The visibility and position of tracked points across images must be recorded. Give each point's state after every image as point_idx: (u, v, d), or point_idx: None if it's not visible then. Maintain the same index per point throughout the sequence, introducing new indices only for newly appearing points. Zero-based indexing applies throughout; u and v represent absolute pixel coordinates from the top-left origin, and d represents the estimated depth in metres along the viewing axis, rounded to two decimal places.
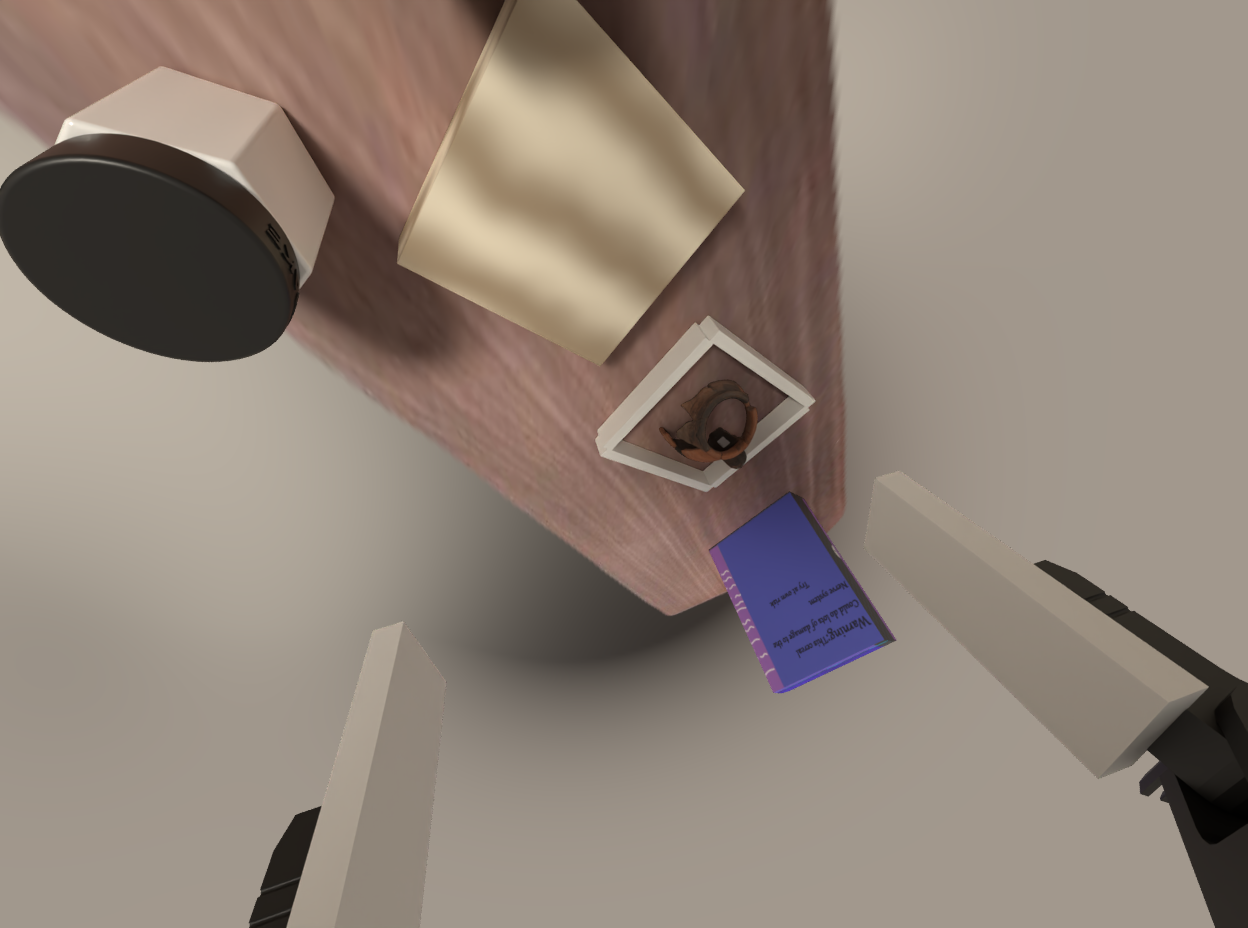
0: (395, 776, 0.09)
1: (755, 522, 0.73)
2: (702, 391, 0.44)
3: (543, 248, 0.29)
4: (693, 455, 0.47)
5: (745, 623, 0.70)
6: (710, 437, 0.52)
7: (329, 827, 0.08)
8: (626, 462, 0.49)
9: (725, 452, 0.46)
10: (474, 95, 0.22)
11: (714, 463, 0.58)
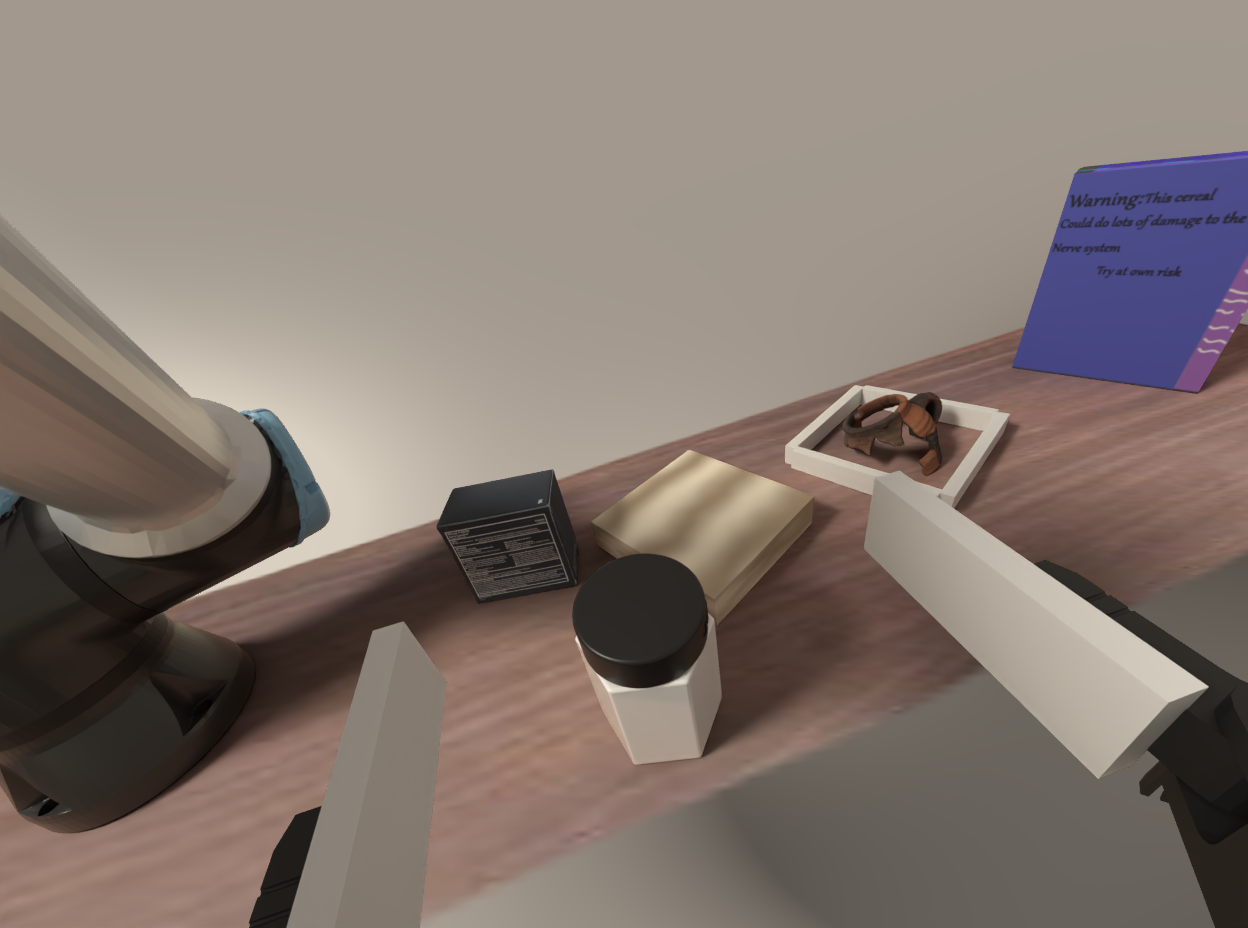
0: (395, 776, 0.09)
1: (1084, 370, 0.59)
2: (851, 446, 0.52)
3: (711, 524, 0.43)
4: (917, 423, 0.48)
5: None
6: None
7: (329, 827, 0.08)
8: (963, 477, 0.44)
9: (900, 402, 0.50)
10: (629, 546, 0.43)
11: (970, 426, 0.54)
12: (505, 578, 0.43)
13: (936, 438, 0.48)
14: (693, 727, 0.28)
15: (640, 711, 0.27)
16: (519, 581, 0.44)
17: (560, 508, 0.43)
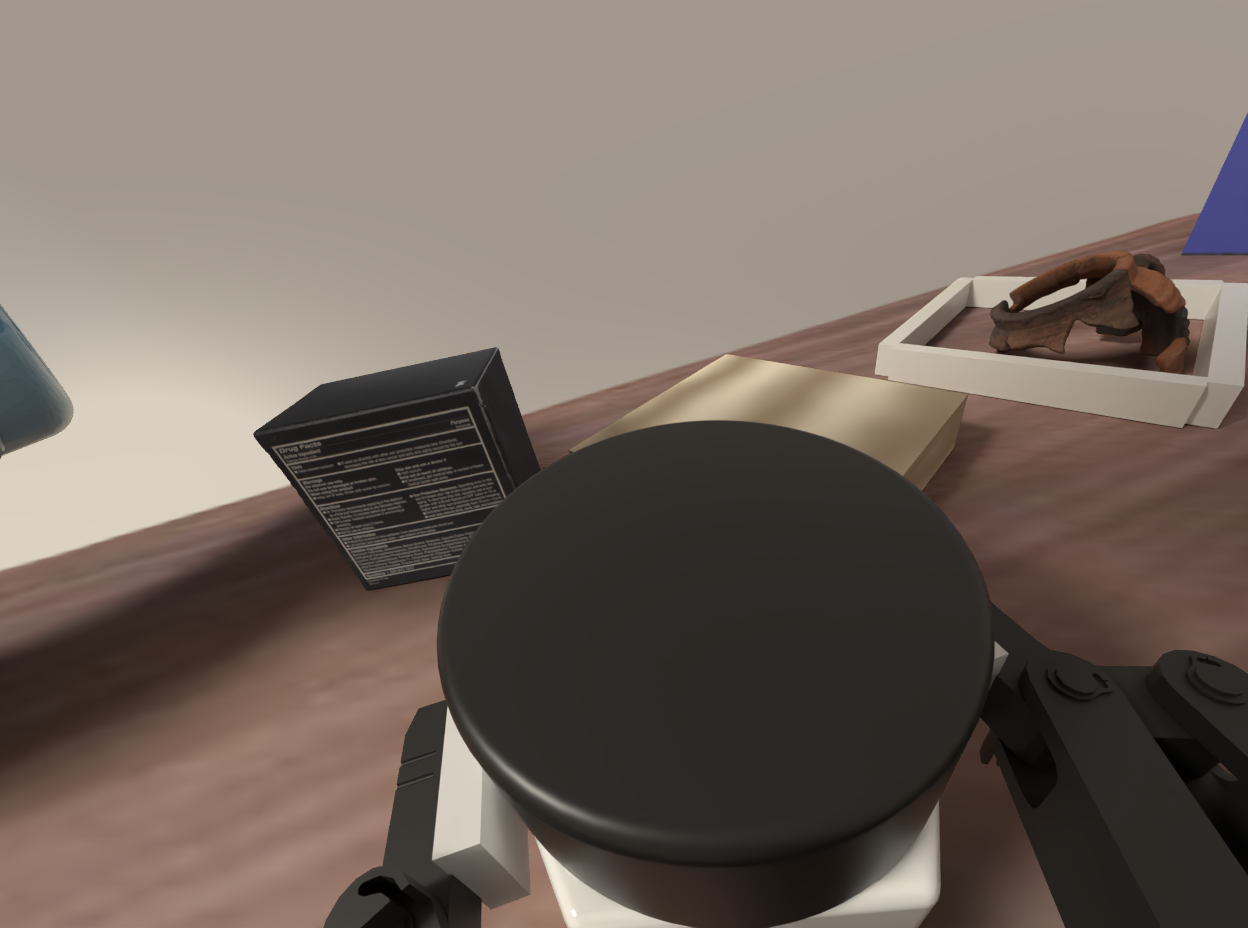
0: None
1: None
2: (1018, 344, 0.30)
3: None
4: (1160, 288, 0.26)
5: None
6: (1126, 329, 0.32)
7: None
8: (1236, 359, 0.25)
9: (1112, 261, 0.28)
10: None
11: None
12: (409, 544, 0.24)
13: None
14: None
15: None
16: (435, 550, 0.24)
17: (509, 415, 0.24)
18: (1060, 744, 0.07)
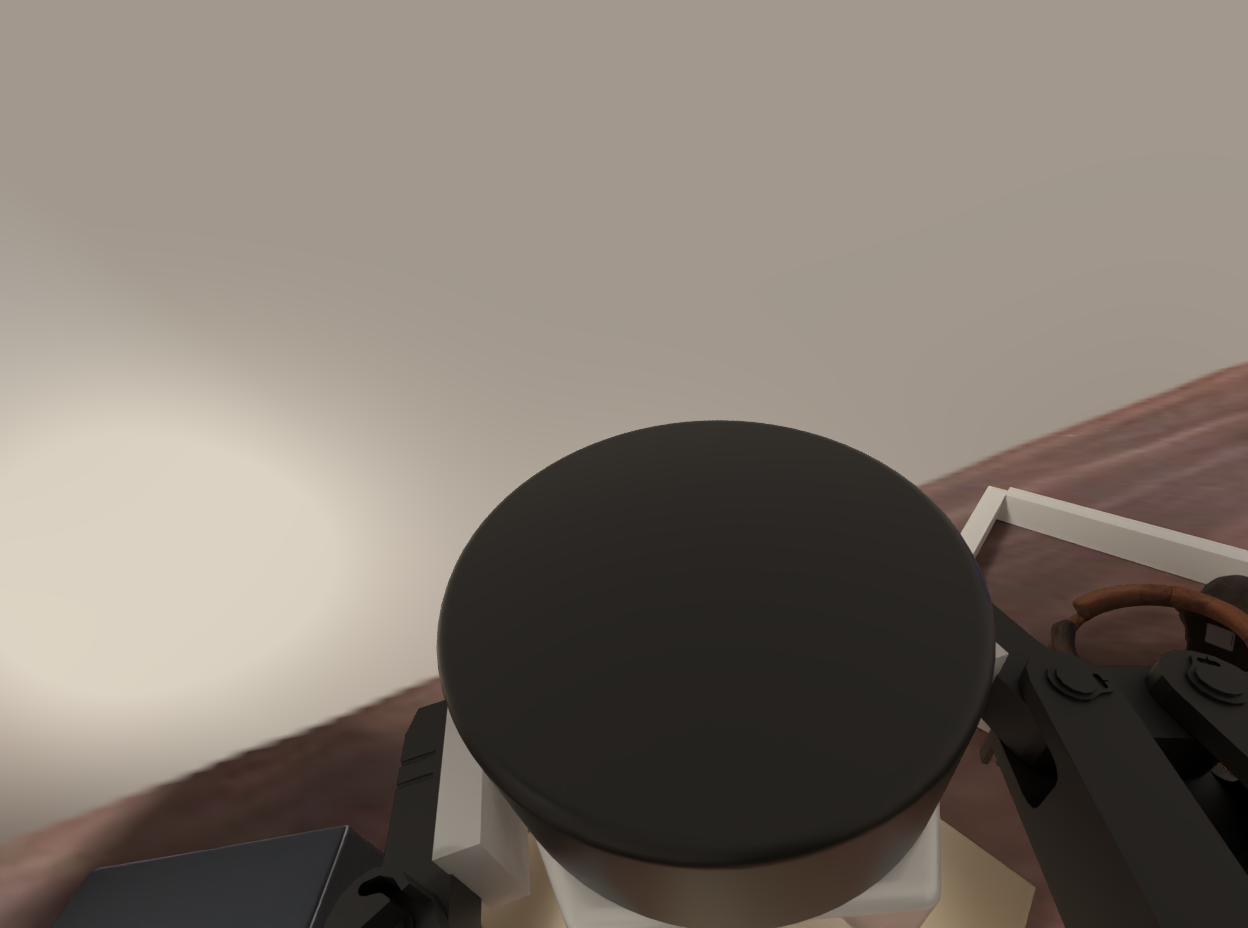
0: None
1: None
2: None
3: None
4: None
5: None
6: None
7: None
8: None
9: (1237, 630, 0.20)
10: None
11: None
12: None
13: None
14: None
15: None
16: None
17: None
18: (1058, 743, 0.07)
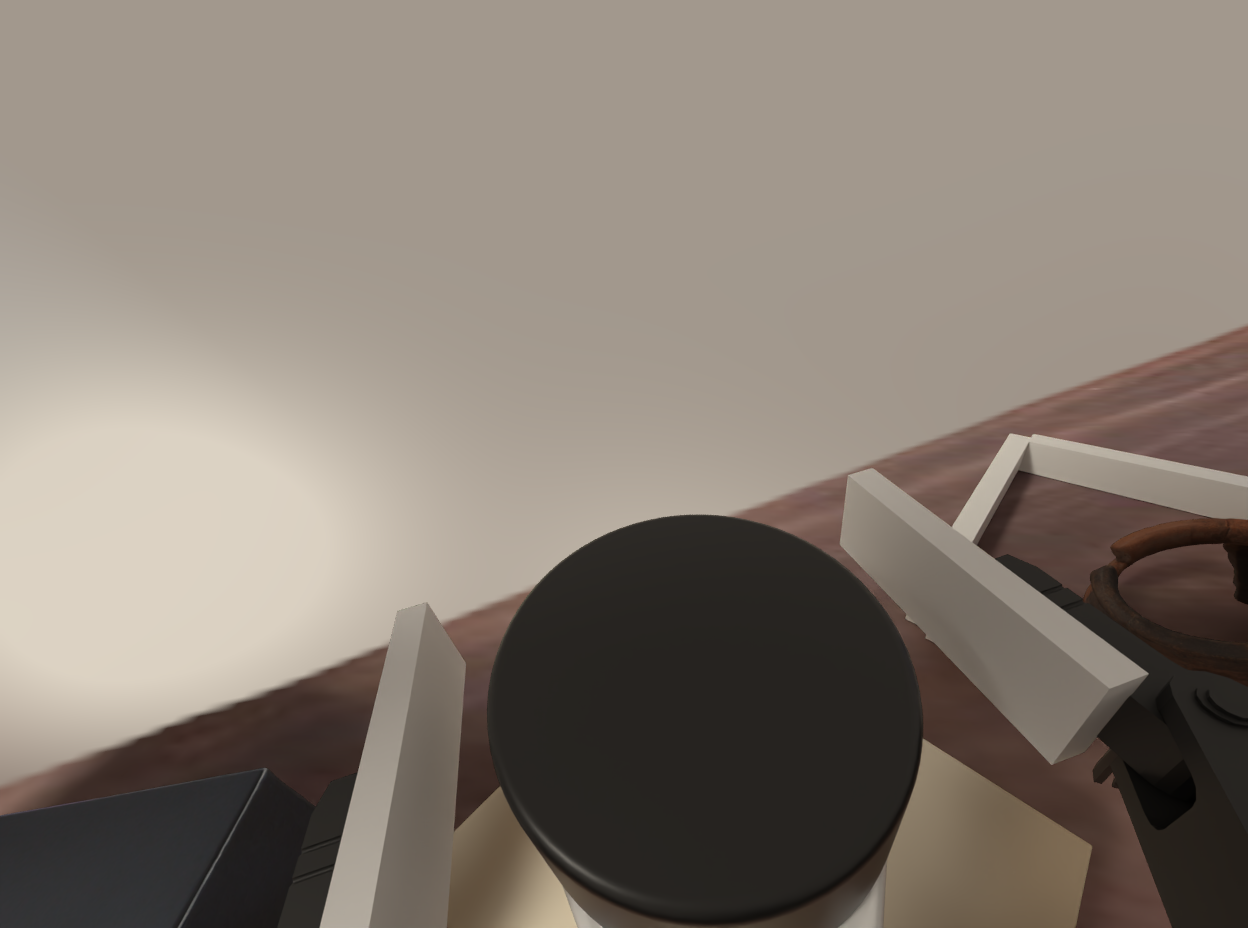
0: (424, 746, 0.09)
1: None
2: None
3: None
4: None
5: None
6: None
7: (367, 789, 0.08)
8: None
9: None
10: None
11: None
12: None
13: None
14: None
15: None
16: None
17: (277, 911, 0.13)
18: (1204, 765, 0.06)
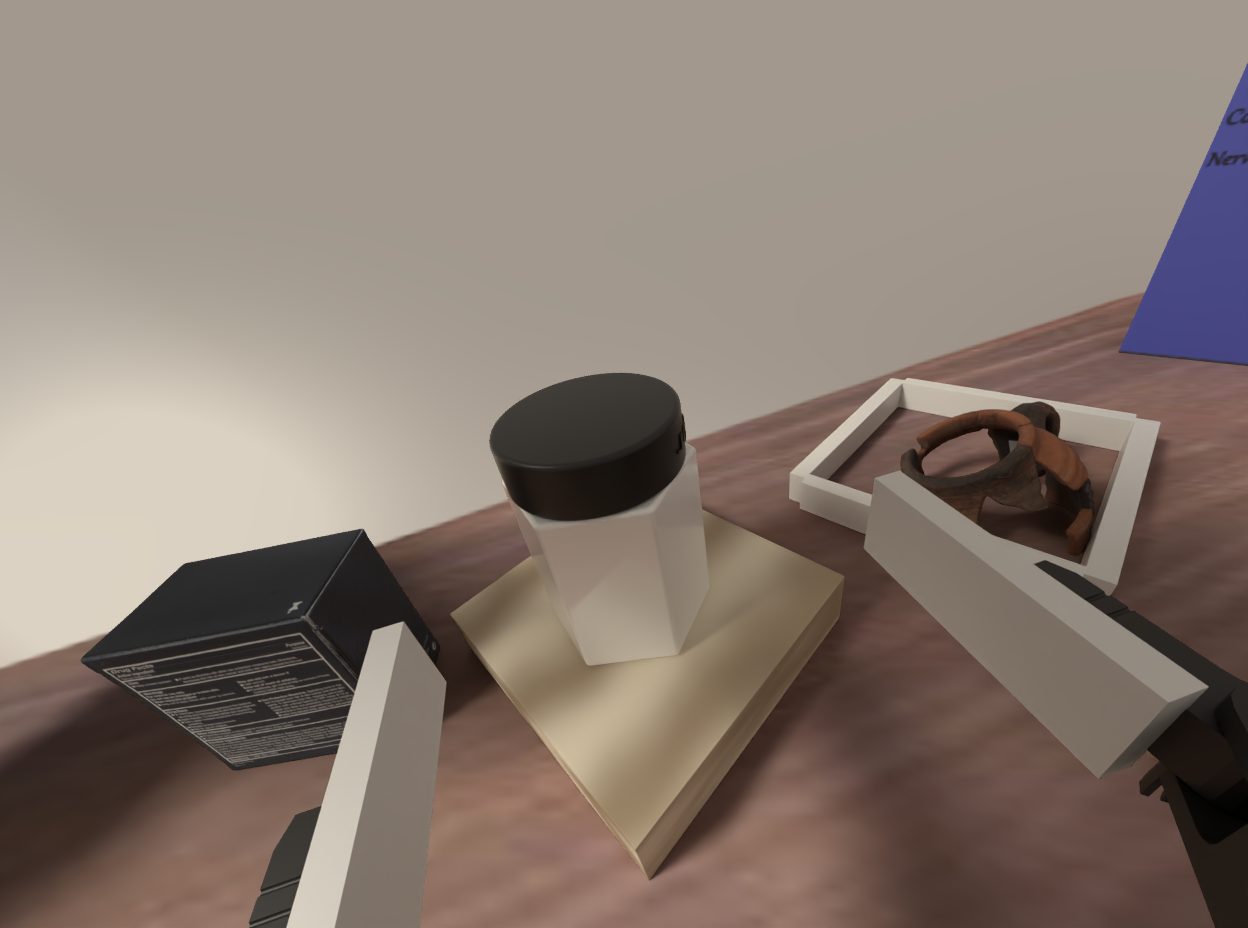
0: (395, 776, 0.09)
1: (1243, 353, 0.39)
2: None
3: None
4: (1064, 465, 0.25)
5: None
6: None
7: (329, 827, 0.08)
8: (1119, 541, 0.24)
9: (1013, 425, 0.27)
10: (499, 676, 0.23)
11: (1084, 440, 0.34)
12: (268, 736, 0.23)
13: None
14: (665, 600, 0.20)
15: (585, 567, 0.18)
16: (296, 739, 0.23)
17: (371, 603, 0.23)
18: None
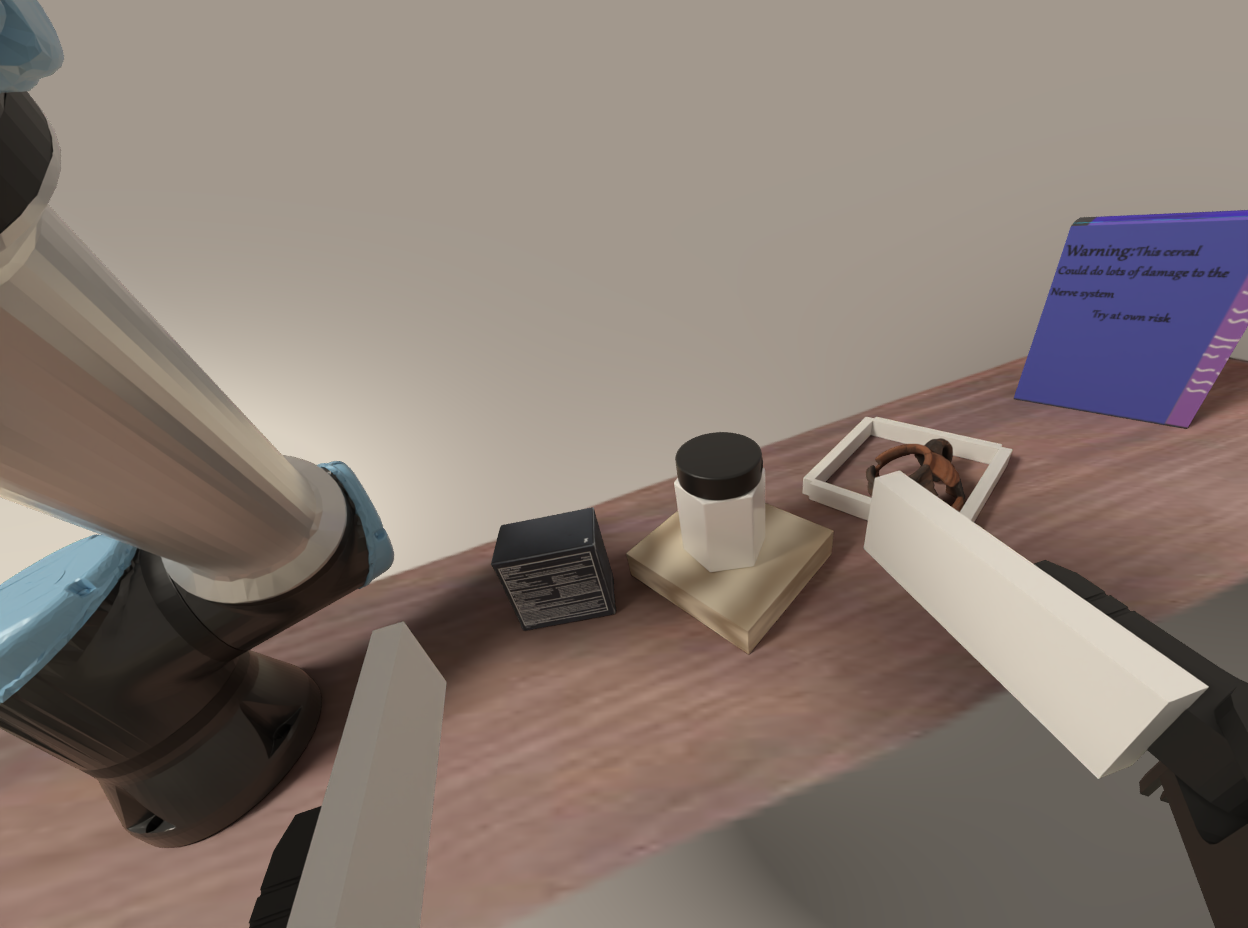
0: (395, 776, 0.09)
1: (1081, 403, 0.63)
2: None
3: None
4: (946, 474, 0.49)
5: (1243, 320, 0.49)
6: (938, 478, 0.55)
7: (329, 827, 0.08)
8: (970, 513, 0.48)
9: (923, 453, 0.51)
10: (665, 578, 0.47)
11: (975, 458, 0.58)
12: (550, 609, 0.47)
13: (961, 485, 0.50)
14: (751, 537, 0.44)
15: (720, 521, 0.42)
16: (562, 611, 0.47)
17: (600, 543, 0.47)
18: None
